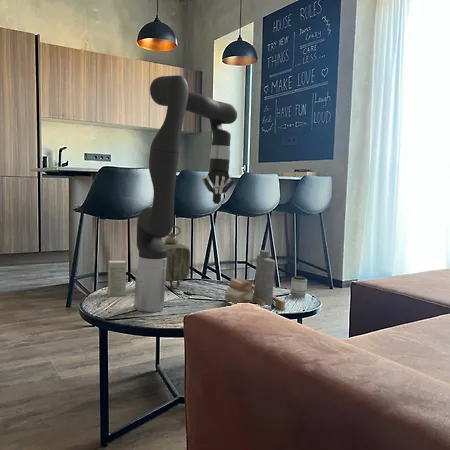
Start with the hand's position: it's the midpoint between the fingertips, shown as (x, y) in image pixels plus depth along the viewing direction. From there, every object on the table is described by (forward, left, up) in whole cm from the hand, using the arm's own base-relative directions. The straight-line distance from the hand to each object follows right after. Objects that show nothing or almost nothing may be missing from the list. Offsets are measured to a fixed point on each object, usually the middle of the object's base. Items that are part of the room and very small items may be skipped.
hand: (216, 203), depth 173 cm
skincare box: (-36, +1, -35) cm, 50 cm away
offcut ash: (+5, -17, -32) cm, 37 cm away
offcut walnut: (+5, -17, -36) cm, 40 cm away
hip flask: (+13, -18, -35) cm, 42 cm away
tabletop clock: (-14, +9, -35) cm, 39 cm away
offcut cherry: (+5, -17, -29) cm, 34 cm away
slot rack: (+14, -12, -35) cm, 40 cm away
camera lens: (+35, -8, -35) cm, 50 cm away
